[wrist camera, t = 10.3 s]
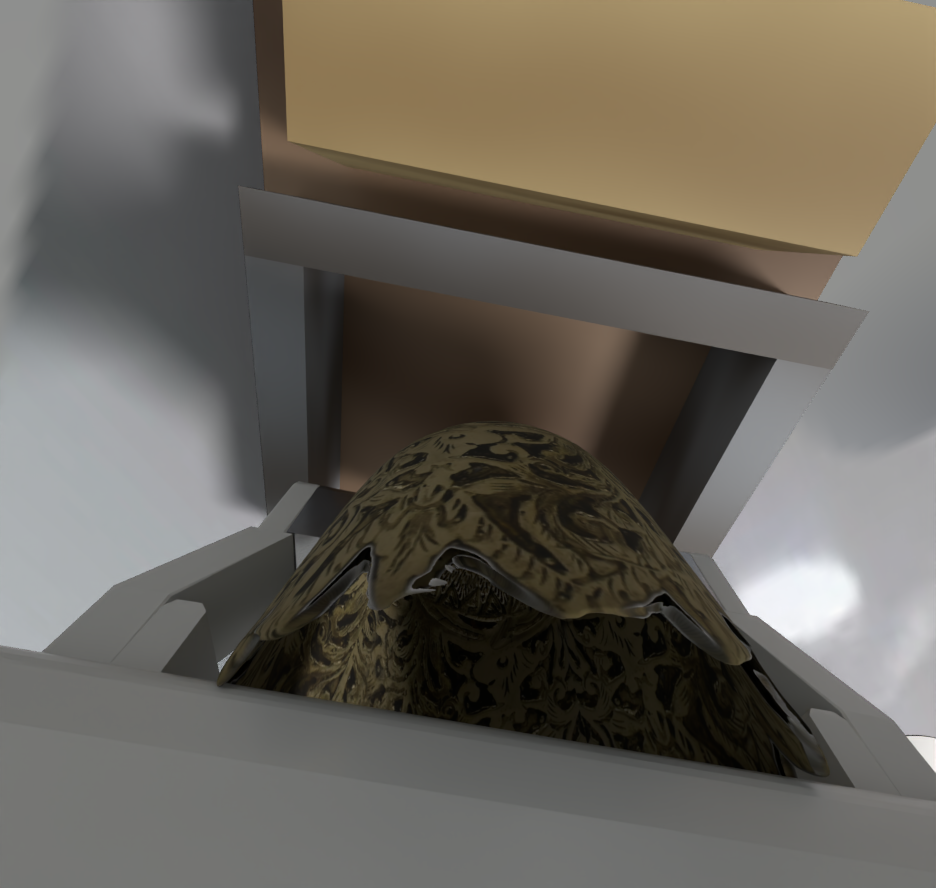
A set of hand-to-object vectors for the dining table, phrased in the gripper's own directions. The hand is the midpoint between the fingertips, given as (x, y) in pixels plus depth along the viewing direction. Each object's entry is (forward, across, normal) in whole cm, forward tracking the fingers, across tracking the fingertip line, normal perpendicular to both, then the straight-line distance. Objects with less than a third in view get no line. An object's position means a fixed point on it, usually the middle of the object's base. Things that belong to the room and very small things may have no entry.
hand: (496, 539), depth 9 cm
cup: (+3, 0, 0) cm, 3 cm away
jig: (+6, 0, -2) cm, 6 cm away
